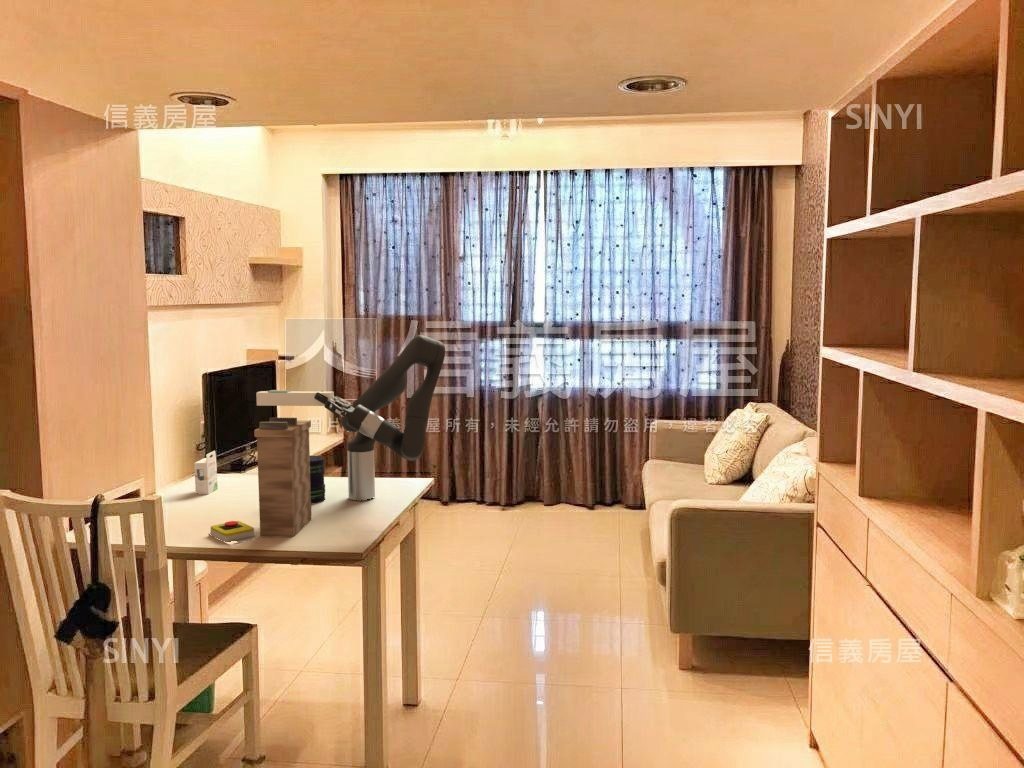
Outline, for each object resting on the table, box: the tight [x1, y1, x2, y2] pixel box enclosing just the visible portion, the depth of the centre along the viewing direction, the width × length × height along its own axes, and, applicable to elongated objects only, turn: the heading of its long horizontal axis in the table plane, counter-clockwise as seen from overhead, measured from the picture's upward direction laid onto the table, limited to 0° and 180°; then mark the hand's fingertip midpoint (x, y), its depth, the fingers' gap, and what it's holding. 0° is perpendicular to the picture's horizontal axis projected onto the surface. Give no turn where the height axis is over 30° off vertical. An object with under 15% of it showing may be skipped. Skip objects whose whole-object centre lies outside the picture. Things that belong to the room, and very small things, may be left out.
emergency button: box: [209, 520, 259, 544], centre depth 234 cm, size 9×4×15 cm
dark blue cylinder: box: [310, 455, 326, 505], centre depth 275 cm, size 10×10×15 cm
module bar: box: [255, 389, 335, 407], centre depth 244 cm, size 4×23×4 cm, turn 88°
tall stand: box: [253, 417, 312, 537], centre depth 240 cm, size 19×11×34 cm, turn 178°
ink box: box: [193, 450, 219, 495], centre depth 288 cm, size 9×5×15 cm, turn 178°
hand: (318, 394), depth 244 cm, fingers closed on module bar, 4 cm apart
